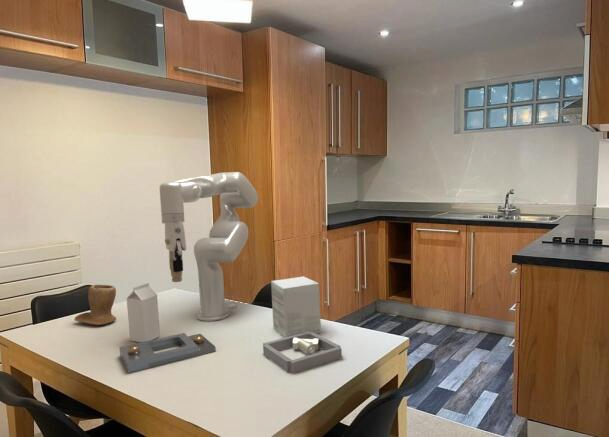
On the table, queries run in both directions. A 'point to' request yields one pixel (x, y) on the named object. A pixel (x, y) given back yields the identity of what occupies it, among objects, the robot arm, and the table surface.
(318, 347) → the pipe fitting
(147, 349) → the upper end link
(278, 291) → the supplement box
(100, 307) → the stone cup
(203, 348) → the lower end link
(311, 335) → the parts fence
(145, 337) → the milk carton
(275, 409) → the table surface
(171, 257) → the handle
